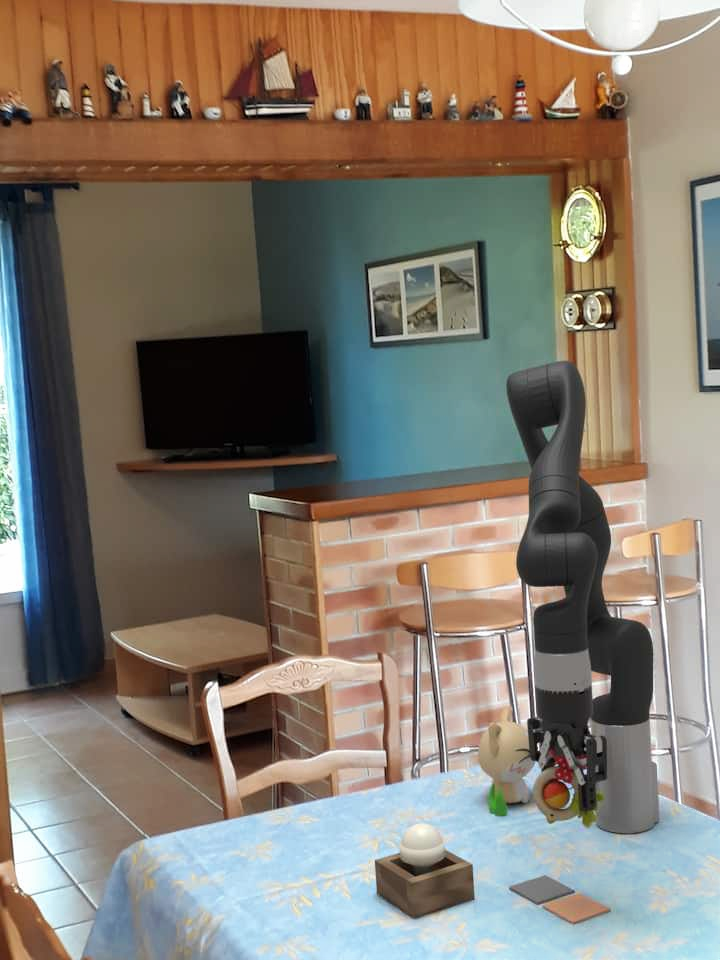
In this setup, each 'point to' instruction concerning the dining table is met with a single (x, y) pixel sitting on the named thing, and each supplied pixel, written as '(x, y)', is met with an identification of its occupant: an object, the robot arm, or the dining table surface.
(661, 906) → the dining table surface
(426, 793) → the dining table surface
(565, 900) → the tile
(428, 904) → the button frame
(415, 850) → the dome button
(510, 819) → the dining table surface
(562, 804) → the bird rattle
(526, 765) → the kitten
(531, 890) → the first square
